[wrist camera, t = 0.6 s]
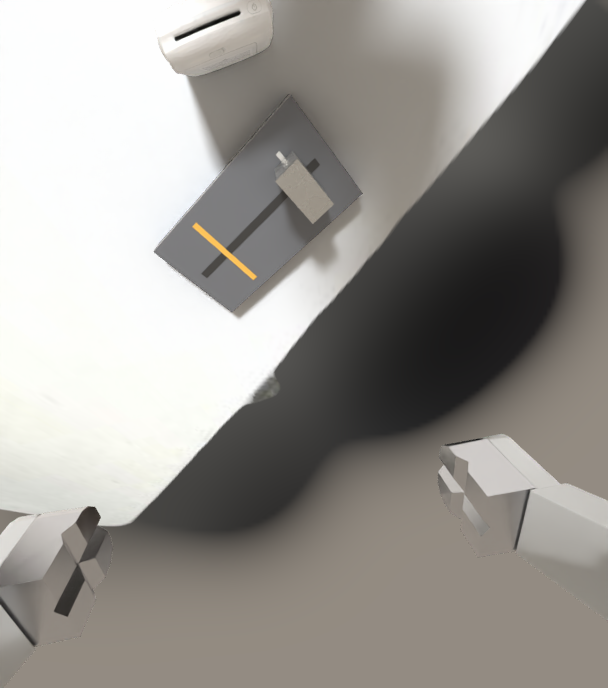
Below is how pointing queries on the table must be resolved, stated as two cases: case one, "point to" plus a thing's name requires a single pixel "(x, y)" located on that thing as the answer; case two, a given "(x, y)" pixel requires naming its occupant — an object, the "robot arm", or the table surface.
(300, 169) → the fader
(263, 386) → the table surface
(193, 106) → the table surface
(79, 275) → the table surface
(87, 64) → the table surface
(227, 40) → the photo printer
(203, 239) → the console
